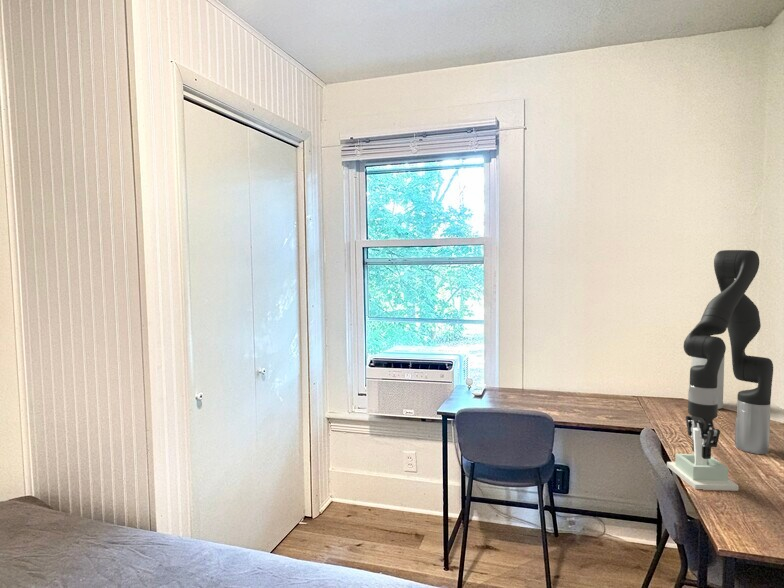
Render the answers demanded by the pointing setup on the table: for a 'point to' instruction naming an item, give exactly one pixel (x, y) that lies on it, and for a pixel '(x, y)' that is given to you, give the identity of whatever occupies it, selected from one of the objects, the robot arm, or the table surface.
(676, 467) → the stand
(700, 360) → the cylinder vase
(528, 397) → the table surface
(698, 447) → the perfume bottle
